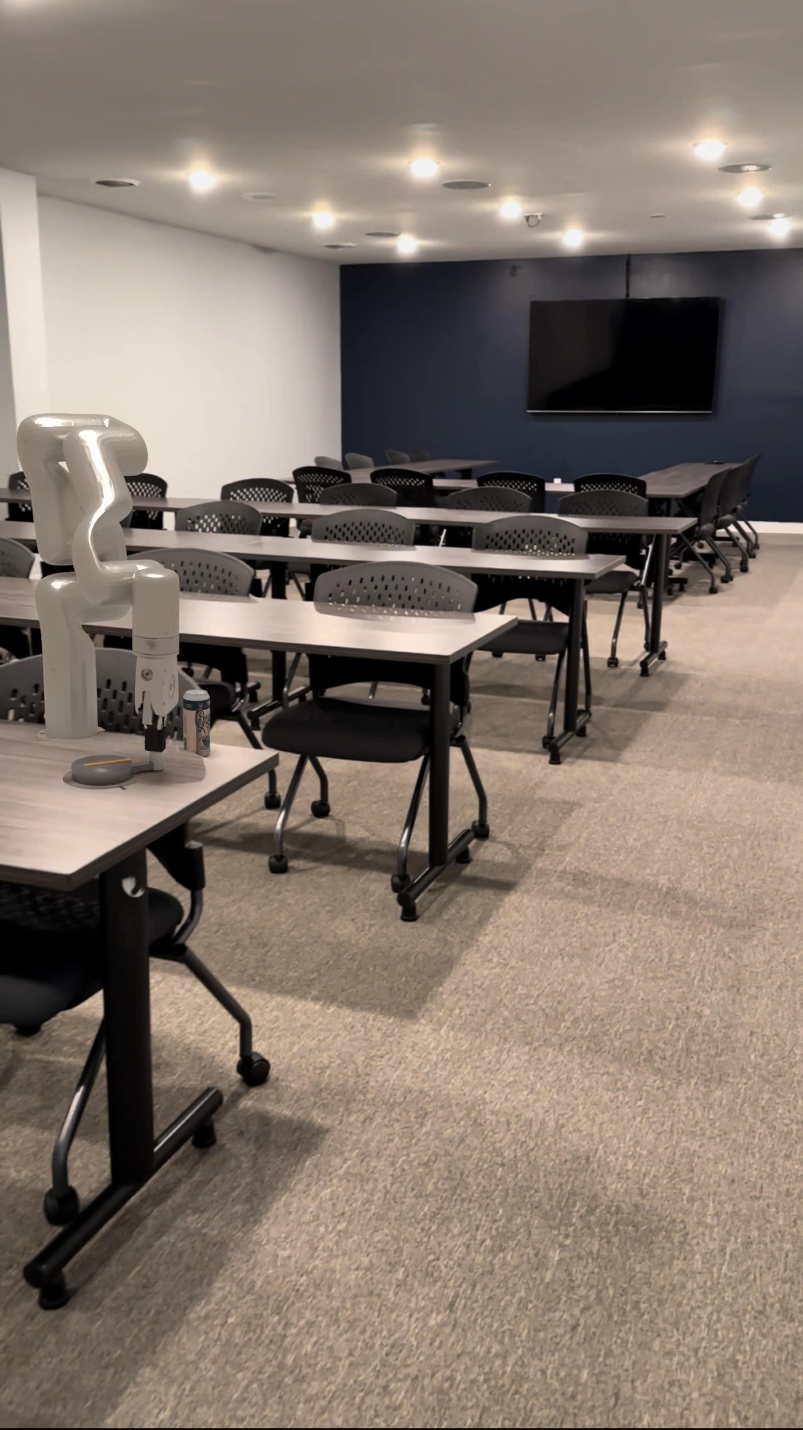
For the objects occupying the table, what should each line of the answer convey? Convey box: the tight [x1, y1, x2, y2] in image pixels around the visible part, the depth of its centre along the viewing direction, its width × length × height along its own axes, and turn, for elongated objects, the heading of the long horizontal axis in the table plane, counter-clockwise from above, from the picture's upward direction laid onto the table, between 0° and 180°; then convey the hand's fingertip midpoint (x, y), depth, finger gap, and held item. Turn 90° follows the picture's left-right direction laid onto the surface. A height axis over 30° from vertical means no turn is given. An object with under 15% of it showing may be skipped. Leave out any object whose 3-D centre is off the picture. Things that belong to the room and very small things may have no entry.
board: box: [62, 770, 150, 791], centre depth 207 cm, size 20×17×1 cm
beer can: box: [182, 689, 211, 758], centre depth 223 cm, size 5×5×12 cm
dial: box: [70, 751, 165, 784], centre depth 206 cm, size 16×10×7 cm, turn 121°
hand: (155, 750), depth 205 cm, fingers closed
